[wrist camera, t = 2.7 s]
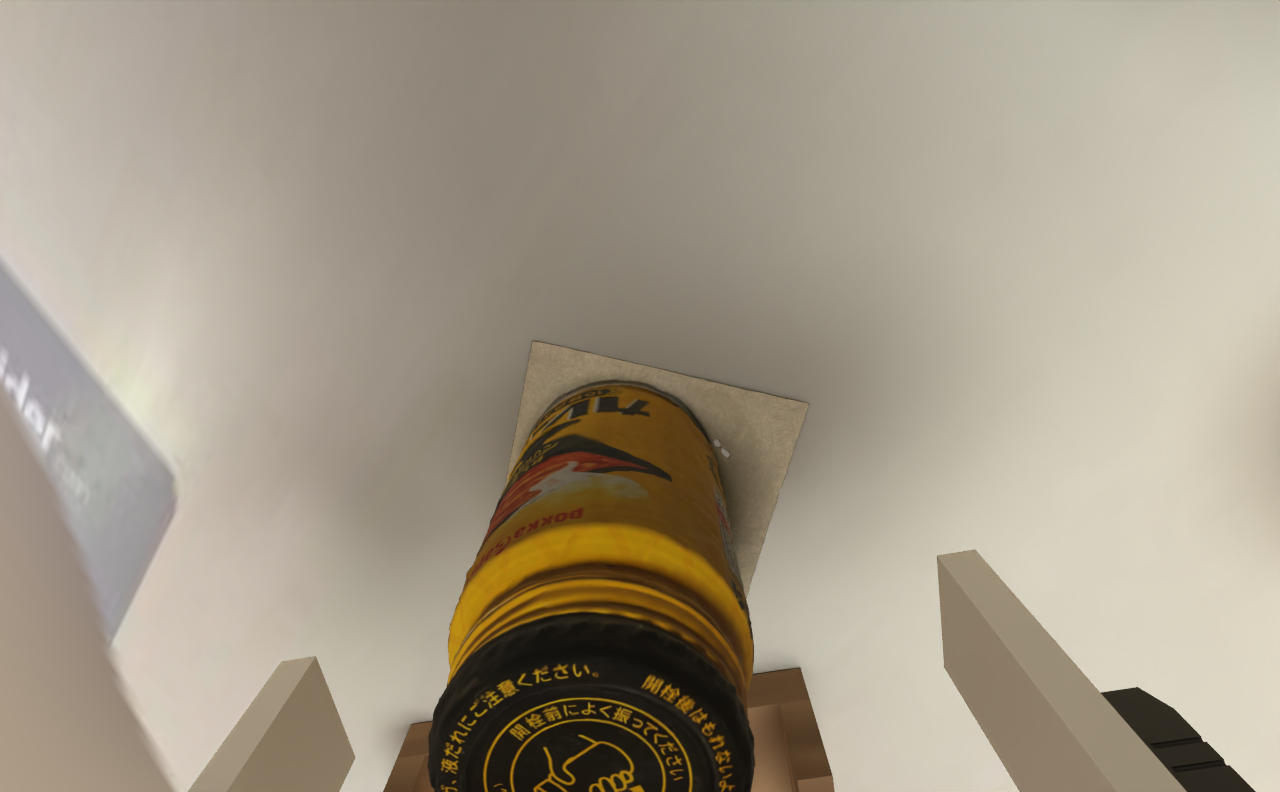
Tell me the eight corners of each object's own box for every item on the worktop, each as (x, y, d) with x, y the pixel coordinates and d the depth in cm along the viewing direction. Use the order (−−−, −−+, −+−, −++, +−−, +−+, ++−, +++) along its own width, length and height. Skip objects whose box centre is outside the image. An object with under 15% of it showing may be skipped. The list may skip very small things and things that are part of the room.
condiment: (533, 339, 21) (399, 558, 10) (808, 401, 22) (988, 678, 10) (493, 549, 23) (346, 926, 12) (742, 601, 24) (829, 1008, 12)
